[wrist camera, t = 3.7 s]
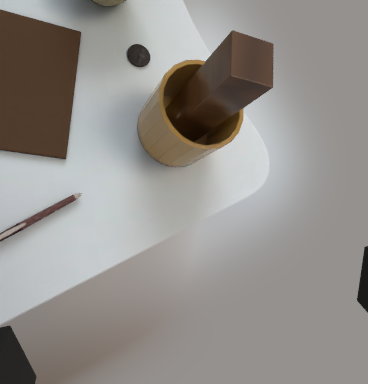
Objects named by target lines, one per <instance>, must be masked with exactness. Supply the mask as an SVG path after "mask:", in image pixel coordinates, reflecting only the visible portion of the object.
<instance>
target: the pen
mask: <svg viewBox="0 0 368 384" xmlns="http://www.w3.org/2000/svg"><path fill="white" fill-rule="evenodd" d="M81 194H82V193H81ZM81 194H80V193H78V194H75V195H72V196H70V197H68V198H66V199H64V200H62V201H60V202H58V203H57V204H55V205H53V206H51V207H49V208H47V209H45V210H43V211H41V212H39V213H37V214H36V215H34V216H32V217H30V218H28V219H26V220H24V221H22V222H20V223H18V224H16V225H15V226H13V227H11V228H9V229H7V230H6V231H4V232H2V233H0V241H2V240H4V239H6V238H8V237H10V236H12V235H14V234H15V233H17V232H19V231H21V230H23V229H25V228H27V227H28V226H30V225H32V224H34V223H35V222H37V221H39V220H41V219H43V218H44V217H46V216H48V215H50V214H52V213H53V212H55V211H57V210H59V209H60V208H62V207H64V206H66V205H68V204H69V203H71V202H73V201H75V200H76V199H77V198H78V197H80V196H81Z"/></svg>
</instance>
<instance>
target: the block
mask: <svg viewBox="0 0 368 384" xmlns="http://www.w3.org/2000/svg"><path fill="white" fill-rule="evenodd" d="M271 88H273V44H272V43H269V42H266V41H263V40H260V39H257V38H254V37H251V36H248V35H245V34H242V33H239V32H236V31H231V32H230V34H229V35H228V36H227V37H226V38H225V39H224V41H223V42H222V43H221V44H220V46H218V48H217V49H216V50H215V51H214V52H213V53H212V55H211V56H210V57H209V58H208V59H207V60H206V62H205V63H204V64H203V65H202V66H201V67H200V69H199V70H198V71H197V72H196V73H195V74H194V76H193V77H192V78H191V79H190V80H189V81H188V83H187V84H186V85H185V86H184V87H183V88H182V89H181V91H180V92H179V93H178V94H177V95H176V96H175V98H174V99H173V100H172V101H171V102H170V103H169V105H168V106H167V107H166V108H165V112H166V115H167V117H168V119H169V120H170V122H171V124H172V126H173V127H174V128H175V129H176V130H177V131H178V132H179V133H180V134H181V135H182V136H183V137H185V138H186V139H188V140H190V141H192V142H195V141H197V140H198V139H199V138H201V137H202V136H204V135H205V134H207V133H208V132H209V131H211V130H212V129H214V128H215V127H217V126H218V125H220V124H221V123H222V122H224V121H225V120H227V119H228V118H230V117H231V116H232V115H234V114H235V113H237V112H238V111H240V110H241V109H243V108H244V107H245V106H247V105H248V104H250V103H251V102H253V101H254V100H256V99H257V98H258V97H260V96H261V95H263V94H264V93H266V92H267V91H268V90H270V89H271Z"/></svg>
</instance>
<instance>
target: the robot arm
mask: <svg viewBox="0 0 368 384" xmlns="http://www.w3.org/2000/svg"><path fill="white" fill-rule="evenodd" d="M357 301H358V302H359V303H360V304H361V305H362V307H363V308H364V309H365V310H366V311H367V312H368V246H367V247H365V250H364V256H363V263H362V270H361V277H360V284H359V291H358V298H357ZM35 380H36V375H35V373H34V371H33V369H32V367H31V365H30V363H29V361H28V359H27V357H26V355H25V353H24V351H23V350H22V348H21V346H20V344H19V342H18V340H17V338H16V336H15V334H14V332H13V331H12V328H11V327H10V326H6V327H1V328H0V384H35Z"/></svg>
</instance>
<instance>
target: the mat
mask: <svg viewBox="0 0 368 384" xmlns="http://www.w3.org/2000/svg"><path fill="white" fill-rule="evenodd" d="M80 37H81V32H79V31H76V30H72V29H68V28H65V27H61V26H58V25H54V24H50V23H47V22H43V21H39V20H36V19H32V18H29V17H25V16H21V15H18V14H14V13H10V12H7V11H3V10H0V150H5V151H12V152H19V153H26V154H34V155H41V156H48V157H55V158H62V159H66V154H67V146H68V137H69V129H70V121H71V112H72V104H73V96H74V87H75V79H76V70H77V62H78V54H79V45H80Z"/></svg>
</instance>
